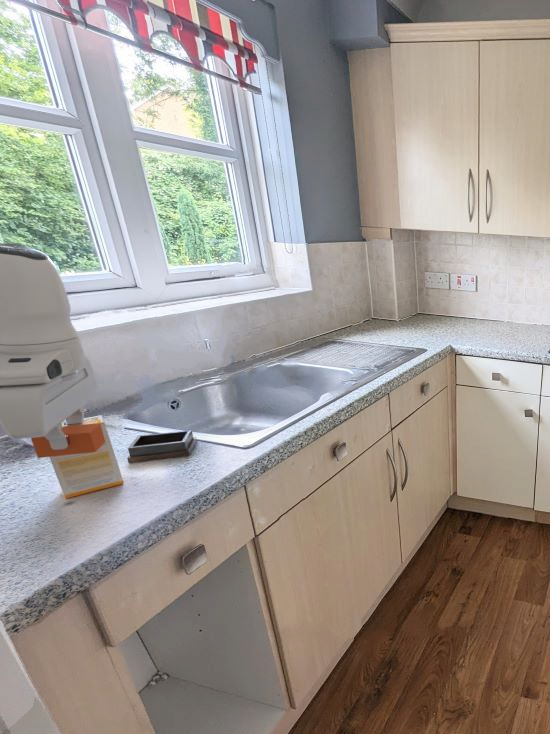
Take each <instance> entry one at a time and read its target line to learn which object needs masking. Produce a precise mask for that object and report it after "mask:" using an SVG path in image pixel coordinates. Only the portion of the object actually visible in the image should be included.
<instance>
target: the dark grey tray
mask: <svg viewBox="0 0 550 734" xmlns="http://www.w3.org/2000/svg"><path fill="white" fill-rule="evenodd" d="M197 440H198V439H197V437H196V436H194V434H193V430H192V429H187V430H179V431H168V432H159V433H150V434H140V435H137V437H136V438H135V439H134V440H133V441H132V442H131V444H130V445H129V446H128V447H127V450H128V456H127V463H128V464H133V463H141V462H148V461H159V460H164V459H165V460H166V459H173V458H181V457H189V456H191V453H192V452H193V450H194V448H195V446H196V444H197V442H198V441H197Z"/></svg>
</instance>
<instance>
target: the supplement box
mask: <svg viewBox="0 0 550 734" xmlns="http://www.w3.org/2000/svg"><path fill="white" fill-rule="evenodd" d="M83 423H84V425H85V424H97V423H100V425H101V428H102V432H103V435H104V439H105V443H104V444H103V445H102V446H101V447H100V448H99V449H98V450H97V451H96V452H91V453H81V454H72V455H62V456H52V457H49V460H50V462H51V465H52V467H53V470H54V472H55V476H56V478H57V481H58V484H59V486H60V489H61V491H62V493H63V495H64V498H65V499H69V498H70V499H71V498H73V497H77V496H81V495H85V494H88V493H93V492H97V491H100V490H104V489H109V488H111V487H116V486H119V485H123V484H124V480H123V479H124V478H123V476H122V473H121V470H120V466H119V463H118V459H117V457H116V454H115V451H114V448H113V444H112V441H111V438H110V434H109V432H108V431H109V430H108V428H107V425H106V422H105V420H104V418H103V415H102V414H99V415H94V416H90V417H84V421H83ZM66 425H67V420H65V421H63V422H62V426H66Z"/></svg>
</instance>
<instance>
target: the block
mask: <svg viewBox="0 0 550 734" xmlns="http://www.w3.org/2000/svg"><path fill="white" fill-rule="evenodd" d="M61 430H62V431H63V433H64V434H65V435H68V436H69V440H70V445H69V446H68V447H67V448H65V449H60V450H54V449H52V448H51V446H50V443H49V440H48V439H46V438H45V437H44V436H42V437H34V438H30V440H31V442H32V445H33V448H34V452H35V454H36V457H37V458H38V459H41V458H50V457H52V456H62V455H72V454H81V453H91V452H96V451H97V450H98V449H99V448H100V447H101V446H102V445H103V444H104V443H105V439H104V435H103V432H102V428H101V425H100V423H97V424H85V425H73V426H63V428H62V429H61Z"/></svg>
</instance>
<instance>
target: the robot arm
mask: <svg viewBox="0 0 550 734" xmlns="http://www.w3.org/2000/svg"><path fill="white" fill-rule="evenodd" d="M68 297H69V296H68V293H67V291H66V287H65V285H64V282H63V279H62V277H61V274H60V272H59V270H58V268H57V267H56V265H55V263H54V262H53V260H52V259H51V257H49V256H48V255H47V254H46V253H45V252H43V251H40V250H38V249H36V248H33V247H29V246H25V245H21V244H16V243H15V244H14V243H4V242H3V243H2V242H0V423H1V425H2V428H3V429H4V431H5V433H6V434H8V435H9V436H10V437H11V438H13V439H16V440H19V439H22V440H23V439H31V438H34V437H42V436H44V437H45V438H46V439H48V440H49V443H50V446H51V448H52V449H54V450H60V449H65V448H67V447H68V446H69V445H70V440H69V436H68V435H65V434H64V433H63V431H62V430H61V429H62V428H63V426H62V422H65V421H67V425H66V426H73V425H84V423H83V421H84V418H85V408H84V406H85V405H86V404H87V403H88V402H90V401H91V400H92V399H94V397H96V396H97V395H98V394H99V383H98V380H97V376H96V374H95V372H94V368H93V366H92V364H91V362H90V360H89V358H88V357H87V356H85V353H84V350H83V347H82V343H81V340H80V336H79V333H78V330H77V329H76V328H75V326H74V325H73V322H72V320H71V304H70V300H69V298H68Z"/></svg>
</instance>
